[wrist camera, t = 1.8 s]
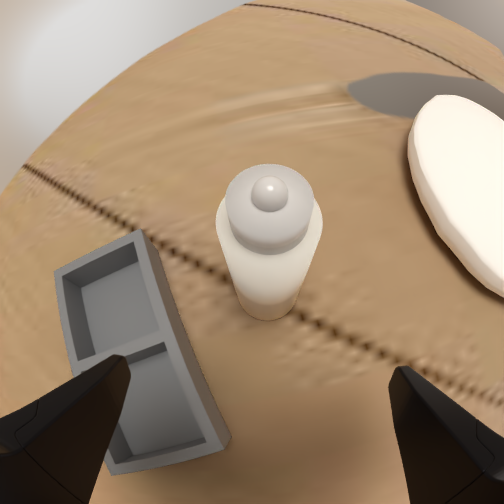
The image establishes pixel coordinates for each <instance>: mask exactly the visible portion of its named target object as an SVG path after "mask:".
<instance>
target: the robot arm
mask: <svg viewBox="0 0 504 504" xmlns="http://www.w3.org/2000/svg"><path fill="white" fill-rule="evenodd" d="M130 380H131V372H130V369H129V366H128V363H127V360H126V358H125V356H123V355H118V354H113V355H111V356H109V357H108V358H106V359H104V360H103V361H101V362H99V363H98V364H96V365H94V366H93V367H91V368H89V369H88V370H86V371H84V372H83V373H81V374H79V375H78V376H76V377H74V378H73V379H71V380H69V381H68V382H66V383H64V384H63V385H61V386H59V387H57V388H56V389H54V390H52V391H51V392H49V393H47V394H46V395H44V396H42V397H40V398H39V399H37V400H35V401H34V402H32V403H30V404H28V405H26V406H25V407H23V408H21V409H19V410H17V411H15V412H13V413H11V414H8V415H6V416H4V417H2V418H0V504H89V501H90V498H91V495H92V492H93V489H94V486H95V483H96V480H97V477H98V474H99V471H100V469H101V466H102V463H103V460H104V457H105V455H106V452H107V449H108V447H109V444H110V441H111V439H112V436H113V433H114V431H115V428H116V426H117V423H118V421H119V418H120V415H121V412H122V409H123V405H124V401H125V398H126V394H127V390H128V387H129V383H130ZM388 388H389V396H390V402H391V409H392V416H393V423H394V429H395V433H396V437H397V441H398V445H399V450H400V454H401V459H402V463H403V468H404V473H405V478H406V483H407V488H408V493H409V499H410V504H504V438H503V437H502V436H500V435H499V434H497V433H496V432H494V431H493V430H491V429H490V428H489V427H487V426H486V425H484V424H483V423H482V422H481V421H479V420H478V419H476V418H475V417H474V416H473V415H471V414H470V413H469V412H468V411H466V410H465V409H464V408H462V407H461V406H460V405H458V404H457V403H456V402H455V401H453V400H452V399H451V398H449V397H448V396H447V395H446V394H444V393H443V392H442V391H440V390H439V389H438V388H436V387H435V386H434V385H433V384H431V383H430V382H429V381H427V380H426V379H425V378H423V377H422V376H421V375H420V374H418V373H417V372H416V371H414V370H413V369H412V368H410V367H409V366H398V367H396V368H395V370H394V373H393V375H392V378H391V380H390V382H389V387H388Z"/></svg>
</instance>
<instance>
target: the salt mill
mask: <svg viewBox="0 0 504 504" xmlns="http://www.w3.org/2000/svg"><path fill="white" fill-rule="evenodd" d="M322 225H323V223H322V215H321V211H320V208H319V206H318V204H317V202H316V200H315V199H314V195H313V191H312V189H311V187H310V185H309V183H308V182H307V181H306V179H305V178H304V177H303V176H302V175H300V174H299V173H298V172H296V171H295V170H293V169H291V168H288V167H285V166H282V165H277V164H261V165H256V166H253V167H250V168H248V169H246V170H244V171H242V172H241V173H239V174H238V175H237V176H236V177H235V178H234V179H233V180H232V181H231V183H230V184H229V186H228V188H227V191H226V196H225V197H224V199H223V200H222V202H221V204H220V206H219V208H218V211H217V215H216V230H217V234H218V237H219V240H220V243H221V247H222V250H223V253H224V256H225V259H226V262H227V265H228V268H229V271H230V275H231V278H232V281H233V284H234V287H235V290H236V293H237V296H238V299H239V302H240V304H241V306H242V308H243V309H244V310H245V311H246V313H248V314H249V315H250V316H252V317H254V318H256V319H259V320H263V321H271V320H276V319H279V318H281V317H283V316H285V315H286V314H287V313H288V312H289V311H290V310H291V309H292V307H293V306H294V304H295V301H296V299H297V296H298V294H299V291H300V289H301V286H302V284H303V281H304V279H305V276H306V274H307V271H308V268H309V266H310V263H311V260H312V258H313V255H314V252H315V250H316V247H317V244H318V242H319V239H320V236H321V232H322Z"/></svg>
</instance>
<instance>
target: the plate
mask: <svg viewBox="0 0 504 504" xmlns="http://www.w3.org/2000/svg"><path fill="white" fill-rule="evenodd" d="M408 160H409V165H410V170H411V175H412V180H413V182H414V185H415V187H416V190H417V192H418V195H419V198H420V201H421V203H422V205H423V207H424V208H425V210H426V212H427V214H428V216H429V218H430V220H431V222H432V224H433V226H434V228H435V230H436V232H437V234H438V235H439V236H440V238H441V239H442V240H443V241H444V242H445V243H446V244H447V246H448V247H449V248H450V249H451V250H452V251H453V253H454V254H455V255H456V256H457V258H458V259H459V260H460V261H461V262H462V264H463V265H464V266H465V267H466V269H467V270H468V271H469V272H470V273H471V274H472V275H473V276H474V277H475V278H476V279H477V280H478V281H480V282H481V283H482V284H483V285H484V286H485V287H486V288H488V289H490V290H491V291H493V292H495V293H497V294H498V295H500V296H502V297H503V298H504V121H503V120H502V119H500V118H499V117H498V116H496V115H495V114H494V113H492V112H490V111H489V110H487V109H485V108H484V107H482V106H481V105H479V104H477V103H475V102H473V101H471V100H469V99H466V98H463V97H459V96H456V95H436V96H435V97H434V98H433V99H431V100H430V101H429V102H427V103H426V104H425V105H424V106H423V107H422V109H421V110H420V111H419V113H418V114H417V116H416V117H415V120H414V122H413V125H412V128H411V131H410V133H409V136H408Z"/></svg>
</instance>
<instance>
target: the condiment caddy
mask: <svg viewBox="0 0 504 504" xmlns="http://www.w3.org/2000/svg"><path fill="white" fill-rule="evenodd" d="M54 277H55V286H56V294H57V301H58V307H59V314H60V319H61V325H62V330H63V335H64V340H65V344H66V349H67V353H68V357H69V361H70V365H71V369H72V373H73V376H74V377H76V376H78V375H79V374H81V373H83V372H84V371H86V370H88V369H89V368H91V367H93V366H94V365H96V364H98V363H99V362H101V361H103V360H104V359H106V358H108V357H109V356H111V355H113V354H118V355H123V356H125V358H126V360H127V363H128V366H129V369H130V372H131V380H130V383H129V387H128V390H127V394H126V398H125V401H124V405H123V409H122V412H121V415H120V418H119V421H118V423H117V426H116V428H115V431H114V433H113V436H112V439H111V441H110V444H109V447H108V449H107V452H106V455H105V457H104V461H105V463H106V465H107V468H108V470H109V472H110V474H111V476H112V475H120V474H126V473H132V472H138V471H144V470H149V469H154V468H158V467H163V466H167V465H172V464H176V463H180V462H184V461H187V460H191V459H195V458H198V457H202V456H205V455H209V454H212V453H215V452H218V451H221V450H224V449H225V447H226V446H227V444H228V442H229V440H230V439H231V437H232V436H231V434H230V432H229V430H228V428H227V426H226V424H225V422H224V420H223V418H222V416H221V414H220V412H219V409H218V407H217V405H216V403H215V401H214V399H213V396H212V394H211V392H210V390H209V387H208V385H207V383H206V380H205V378H204V376H203V373H202V371H201V369H200V366H199V364H198V362H197V359H196V357H195V354H194V352H193V349H192V347H191V344H190V342H189V339H188V337H187V334H186V331H185V329H184V326H183V323H182V321H181V318H180V315H179V313H178V310H177V307H176V304H175V301H174V299H173V296H172V293H171V290H170V287H169V284H168V281H167V278H166V275H165V272H164V269H163V266H162V263H161V260H160V257H159V253H158V250H157V249H156V248H155V246H154V245H153V244H152V243H151V241H150V240H149V239H148V237H147V236H146V235H145V233H144V232H143V231H142V229H138V230H136V231H134V232H132V233H130V234H128V235H125V236H123V237H121V238H119V239H117V240H115V241H113V242H111V243H109V244H107V245H104V246H102V247H100V248H98V249H96V250H94V251H92V252H90V253H88V254H86V255H84V256H82V257H80V258H78V259H76V260H74V261H72V262H70V263H69V264H67V265H65V266H63V267H61V268H59V269H57V270H55V271H54Z"/></svg>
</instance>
